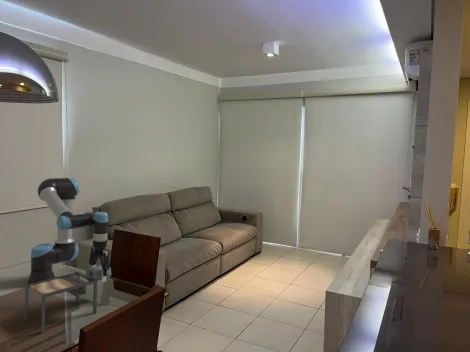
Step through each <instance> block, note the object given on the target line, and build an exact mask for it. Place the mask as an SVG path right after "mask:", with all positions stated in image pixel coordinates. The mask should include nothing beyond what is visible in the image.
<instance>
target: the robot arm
mask: <svg viewBox="0 0 470 352" xmlns="http://www.w3.org/2000/svg"><path fill="white" fill-rule="evenodd" d="M79 194H80V185H79V183H78V181H77V179H75V178H73V177H71V178H70V177H59V178H55V177H54V178H51V177H50V178H47V179H44V180H43V181H42V182H40V184H39V185H38V187H37V195H38V197H39V198H40V200H41V201H42V202H45V203H46V205H47V206H48V207H49V209H50V210H51V211H52V214H54V216H55V217H56V226H57V238H56V240H54V244H52V243H51V242H50V243H40V244H37V245H35V246H33V248H31V250H30V272H29V276H28V277H27V284H26V285H28V284H32V283H35V282H39V281H43V280H47V279H51V278H55V277H56V276H55V274H54V273H55V272H54V271H53V265H55V264H56V265H57V264H60V263H68V262H71V261H74V260H75V259H77V256H78V254H79V245H78V242H77V241H76V240H75V239H74V238H73V229H74V230H75V229H80V228H89V227H91V228H92V229H93V230H92V239H93V240H92V247H91V248H90V255H89V260H88V263H89V264H90V268H92V267H95V266H98V265H97V261H98V260H100V263H101V264H100V265H102V269H103V270H102V274H101V280H100V282H101V283H105V282H107V279H106V277H107V270H110V268H111V267H110V260H109V259H110V258H109V254H110V252H109V251H106V248H108V247H107V246H108V234H109V231H108V227H109V214H108V213H107V212H105V211H95V212H91V211H87V212H85V213H82V214H79V213H78V214H74V213H73V202H74V201H75V200H76V197H77V196H78V195H79ZM75 241H76V242H75Z"/></svg>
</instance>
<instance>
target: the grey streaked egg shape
mask: <svg viewBox="0 0 470 352" xmlns="http://www.w3.org/2000/svg"><path fill="white" fill-rule="evenodd" d="M111 269H112V268H111V267H110V270H107V277H106V280H107V279H110V278H111V276H112V270H111ZM102 270H103V269H102V265H101V264H100V265H97V266H95V267H92V268H91V267H88V268H87V269H86V273H85V275H87V276H89V277H92V278H94V279H96V280H97V282H99V281H101V274H102ZM86 280H87V282H89V281H90V280H88V279H86Z"/></svg>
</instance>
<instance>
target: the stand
mask: <svg viewBox="0 0 470 352" xmlns="http://www.w3.org/2000/svg"><path fill="white" fill-rule="evenodd" d="M70 275H72V276H75V277H77V278H79V279H80V277H82V278H83V279H85V280H87V279H88V280H90V281H88V280H87V281H85V282H86V283H82V284H79V285H75V286H72V287H68V288H65V289H61V290H58V291H54V292H50V293H47V294H43V295H41V294H40V295H41V300H40V301H41V304H40V305H41V307H40V308H41V309H40V311H41V313H40V318H41V319H40V333H41V334H43V333H44V334H45V332H46V298H49V297H52V296H55V295H59V294H62V293H66V292H67V291H70V290H73V289H77V288H80V287H83V286H86V287H87V286H90V285H93V301H92V303H93V304H92V313H93V314H94V315H95V314H97V307H98V305H97V304H98V281H97V280H96V279H94V278H92V277H89V276H87V275H86V273H83V272H80V271H76V272H72V273H67V274H64V275H60V276H57V277H56V276H55V278H51V279H47V280H43V281H39V282H35V283H32V284H28V285H27V284H25V286H24V321H25V322H27V321H29V308H30V307H29V303H30V302H29V299H30V297H29V295H30V293H29V292H30V291H29V289H30V286H31V285H35V284H39V283H43V282H47V281H51V280H55V279H59V278H62V277H66V276H70ZM75 304H76V305H78V304H80V296H75Z"/></svg>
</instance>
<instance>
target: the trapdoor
mask: <svg viewBox="0 0 470 352" xmlns="http://www.w3.org/2000/svg"><path fill="white" fill-rule="evenodd" d="M86 282H87V281H85V280H82V279H79V278H77V277H76V275H75V276H72V275H70V276H66V277H62V278H59V279H55V280H51V281H47V282H43V283H39V284H35V285H31V286H30V287H29V289H32V290H33V291H35V292H37V293H38V294H40V295H43V294H47V293H50V292H54V291H58V290H61V289H65V288H68V287H72V286H75V285H79V284H82V283H86ZM66 292H67V293H68V294H70V295H72V296H74V297H76V296H79V297H80V296H83V295H86V294H87V286H83V287H80V288H77V289H73V290H70V291H66Z"/></svg>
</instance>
